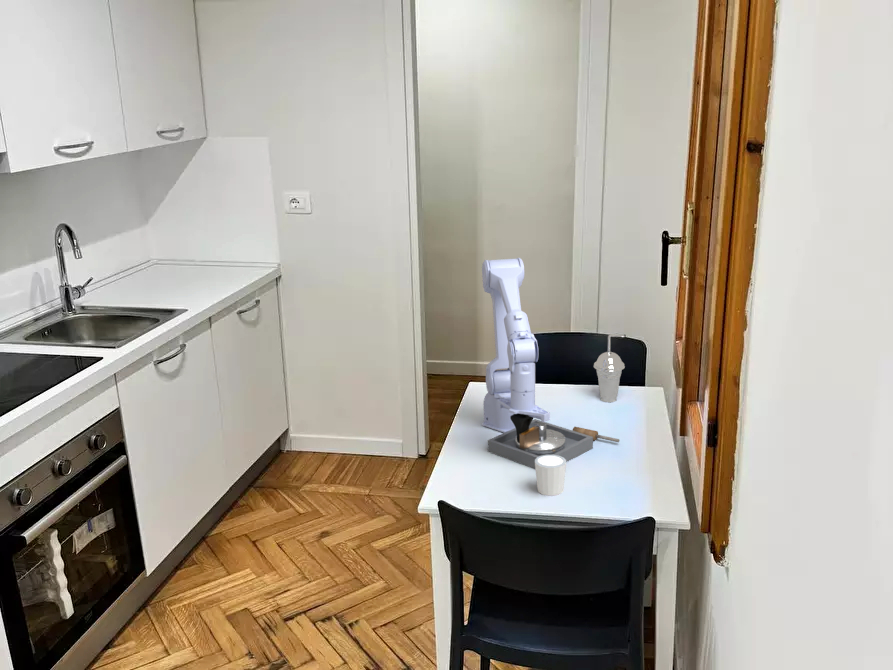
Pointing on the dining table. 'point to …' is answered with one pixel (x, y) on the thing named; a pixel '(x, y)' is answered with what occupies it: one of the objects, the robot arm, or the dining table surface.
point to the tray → (507, 449)
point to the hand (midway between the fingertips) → (523, 442)
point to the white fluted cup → (550, 474)
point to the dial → (540, 440)
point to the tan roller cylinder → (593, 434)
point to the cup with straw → (609, 373)
